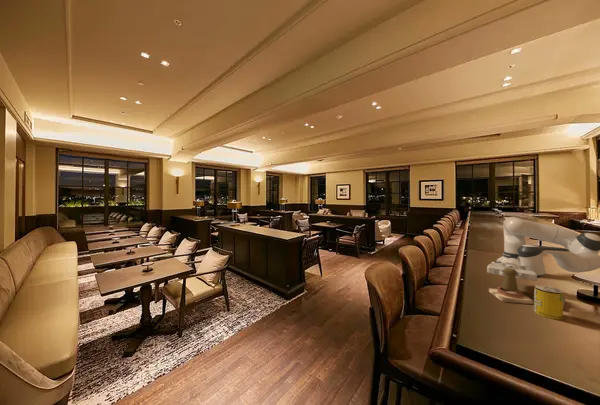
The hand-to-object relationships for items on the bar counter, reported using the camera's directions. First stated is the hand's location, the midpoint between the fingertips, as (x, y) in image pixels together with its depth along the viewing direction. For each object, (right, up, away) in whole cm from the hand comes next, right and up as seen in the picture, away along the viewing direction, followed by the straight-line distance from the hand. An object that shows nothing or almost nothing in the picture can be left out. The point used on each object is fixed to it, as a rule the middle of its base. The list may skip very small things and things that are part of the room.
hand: (510, 276), depth 121 cm
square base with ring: (+1, -12, +1) cm, 12 cm away
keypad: (+15, -13, -5) cm, 20 cm away
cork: (+1, -7, +1) cm, 7 cm away
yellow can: (+2, -13, -16) cm, 21 cm away
